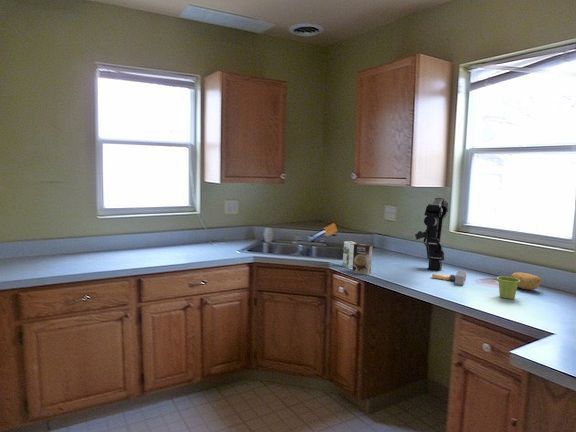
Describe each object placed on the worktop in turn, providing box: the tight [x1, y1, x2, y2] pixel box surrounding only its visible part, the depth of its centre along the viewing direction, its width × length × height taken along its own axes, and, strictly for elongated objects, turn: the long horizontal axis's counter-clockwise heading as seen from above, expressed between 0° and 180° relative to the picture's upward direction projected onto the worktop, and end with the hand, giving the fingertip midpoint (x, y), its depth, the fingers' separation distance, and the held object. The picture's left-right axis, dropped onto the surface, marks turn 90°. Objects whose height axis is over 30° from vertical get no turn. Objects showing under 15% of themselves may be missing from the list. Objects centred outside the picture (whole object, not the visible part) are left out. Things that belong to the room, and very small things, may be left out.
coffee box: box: [352, 242, 373, 276], centre depth 227 cm, size 9×6×16 cm
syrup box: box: [342, 240, 357, 268], centre depth 243 cm, size 6×6×14 cm
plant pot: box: [496, 276, 520, 300], centre depth 190 cm, size 9×9×9 cm
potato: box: [510, 271, 542, 291], centre depth 205 cm, size 10×14×8 cm
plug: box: [431, 273, 456, 282], centre depth 219 cm, size 13×3×3 cm, turn 62°
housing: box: [454, 269, 467, 286], centre depth 215 cm, size 4×14×5 cm, turn 152°
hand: (429, 256), depth 221 cm, fingers open, 9 cm apart
